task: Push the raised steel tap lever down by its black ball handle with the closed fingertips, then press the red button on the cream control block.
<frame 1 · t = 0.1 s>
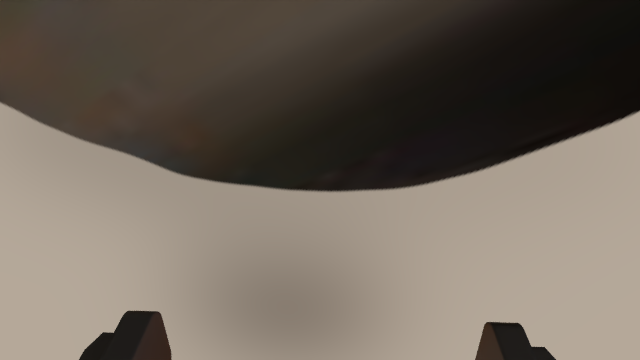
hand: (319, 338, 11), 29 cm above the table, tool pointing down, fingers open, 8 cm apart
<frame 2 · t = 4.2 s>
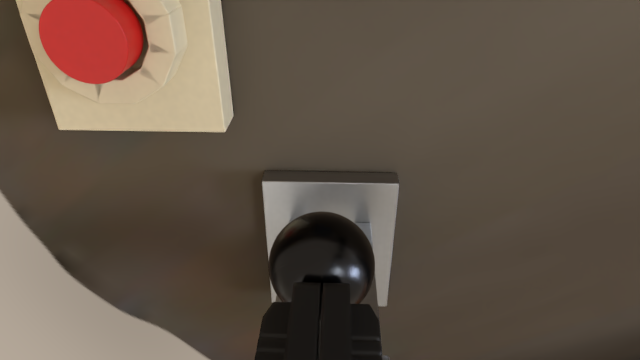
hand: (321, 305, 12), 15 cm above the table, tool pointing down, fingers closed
button: (93, 36, 19), point 4 cm above the table, slide at 0.1 cm
button block: (135, 14, 23), on the table
tap lever: (323, 327, 17), point 12 cm above the table, hinge at 18.9°
tap bracket: (329, 236, 30), on the table
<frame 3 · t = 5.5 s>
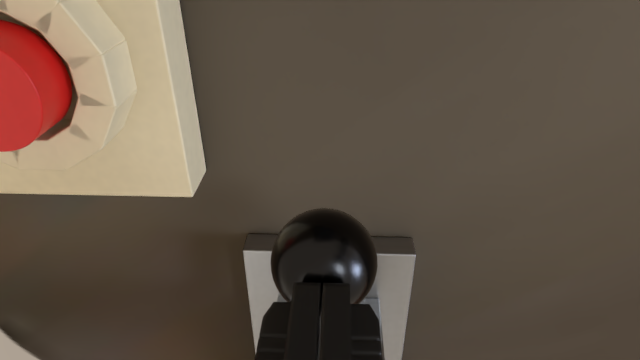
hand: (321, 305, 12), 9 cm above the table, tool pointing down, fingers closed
button block: (73, 46, 18), on the table
tap bracket: (328, 307, 24), on the table
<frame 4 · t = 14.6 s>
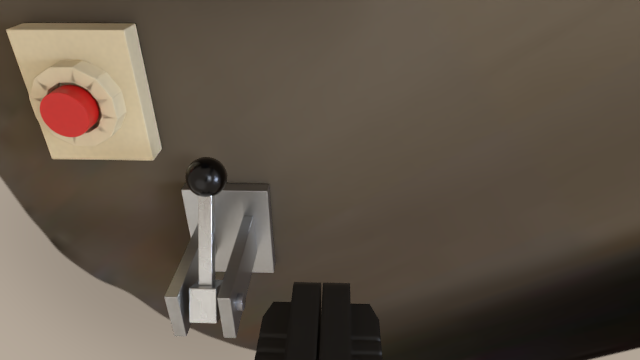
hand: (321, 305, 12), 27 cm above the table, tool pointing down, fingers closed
button: (70, 111, 34), point 4 cm above the table, slide at 0.1 cm
button block: (97, 90, 38), on the table
tap lever: (206, 238, 36), point 8 cm above the table, hinge at -27.2°
tap bracket: (232, 225, 45), on the table
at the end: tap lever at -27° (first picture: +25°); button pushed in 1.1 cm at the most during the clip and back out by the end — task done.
